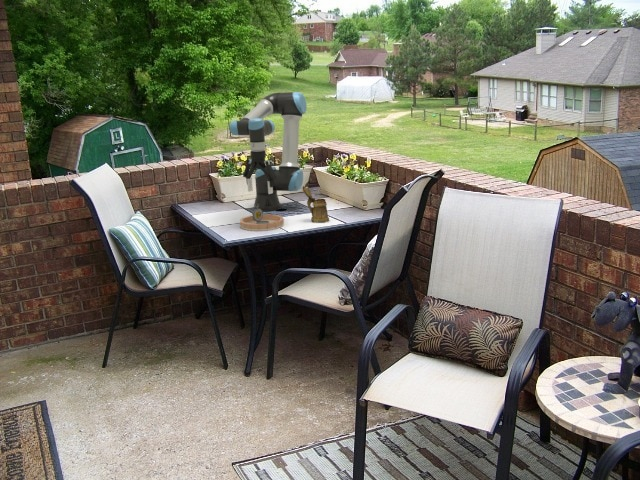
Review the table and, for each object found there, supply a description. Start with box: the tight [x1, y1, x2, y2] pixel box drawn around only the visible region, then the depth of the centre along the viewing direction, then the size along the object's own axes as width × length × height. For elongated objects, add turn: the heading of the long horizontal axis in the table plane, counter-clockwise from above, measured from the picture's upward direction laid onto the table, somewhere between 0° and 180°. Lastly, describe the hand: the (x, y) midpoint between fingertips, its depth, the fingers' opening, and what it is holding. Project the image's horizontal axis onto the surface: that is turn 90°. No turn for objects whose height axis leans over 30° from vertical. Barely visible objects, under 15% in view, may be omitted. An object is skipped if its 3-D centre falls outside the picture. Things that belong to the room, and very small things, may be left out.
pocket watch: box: [251, 204, 269, 224], centre depth 355 cm, size 8×8×10 cm
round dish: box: [239, 213, 285, 232], centre depth 356 cm, size 22×22×3 cm
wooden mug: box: [302, 185, 330, 224], centre depth 360 cm, size 9×14×18 cm, turn 71°
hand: (260, 192), depth 352 cm, fingers open, 13 cm apart
